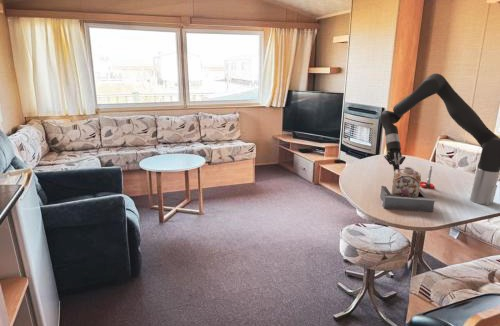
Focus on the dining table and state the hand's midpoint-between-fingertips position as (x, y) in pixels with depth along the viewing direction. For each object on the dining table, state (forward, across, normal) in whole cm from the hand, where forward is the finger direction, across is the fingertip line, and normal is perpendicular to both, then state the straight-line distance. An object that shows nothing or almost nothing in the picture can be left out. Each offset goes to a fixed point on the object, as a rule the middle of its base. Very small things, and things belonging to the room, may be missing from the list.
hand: (396, 171), depth 185 cm
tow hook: (+6, -21, -4) cm, 22 cm away
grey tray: (+21, +9, +12) cm, 26 cm away
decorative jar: (+20, +7, +10) cm, 23 cm away
